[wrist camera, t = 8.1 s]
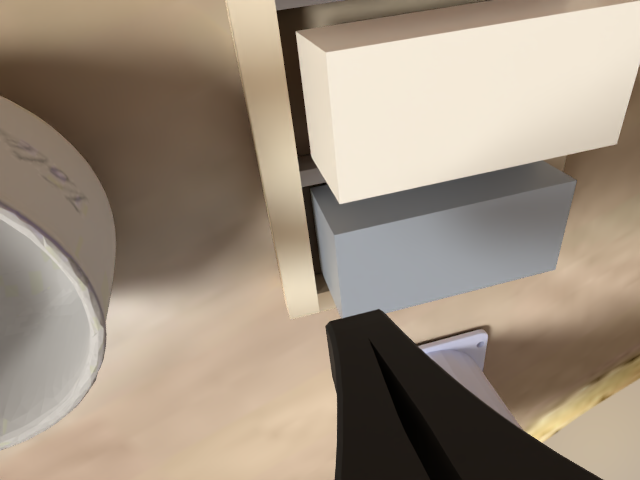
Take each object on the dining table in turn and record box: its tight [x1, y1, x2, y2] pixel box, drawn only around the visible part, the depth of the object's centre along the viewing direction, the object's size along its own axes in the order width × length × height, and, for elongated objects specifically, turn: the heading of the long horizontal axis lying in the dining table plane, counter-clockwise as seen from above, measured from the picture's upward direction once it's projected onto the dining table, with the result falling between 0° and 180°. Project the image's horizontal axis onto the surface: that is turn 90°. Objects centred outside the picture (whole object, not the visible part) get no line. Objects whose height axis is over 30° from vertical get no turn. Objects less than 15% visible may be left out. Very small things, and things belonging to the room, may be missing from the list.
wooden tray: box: [225, 0, 567, 320], centre depth 18 cm, size 21×14×2 cm, turn 6°
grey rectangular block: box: [310, 160, 577, 318], centre depth 20 cm, size 4×10×4 cm, turn 96°
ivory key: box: [296, 0, 640, 204], centre depth 15 cm, size 4×10×4 cm, turn 96°
